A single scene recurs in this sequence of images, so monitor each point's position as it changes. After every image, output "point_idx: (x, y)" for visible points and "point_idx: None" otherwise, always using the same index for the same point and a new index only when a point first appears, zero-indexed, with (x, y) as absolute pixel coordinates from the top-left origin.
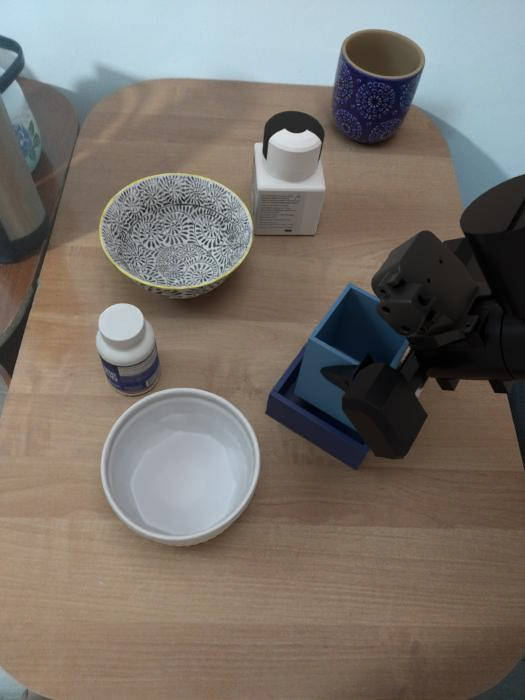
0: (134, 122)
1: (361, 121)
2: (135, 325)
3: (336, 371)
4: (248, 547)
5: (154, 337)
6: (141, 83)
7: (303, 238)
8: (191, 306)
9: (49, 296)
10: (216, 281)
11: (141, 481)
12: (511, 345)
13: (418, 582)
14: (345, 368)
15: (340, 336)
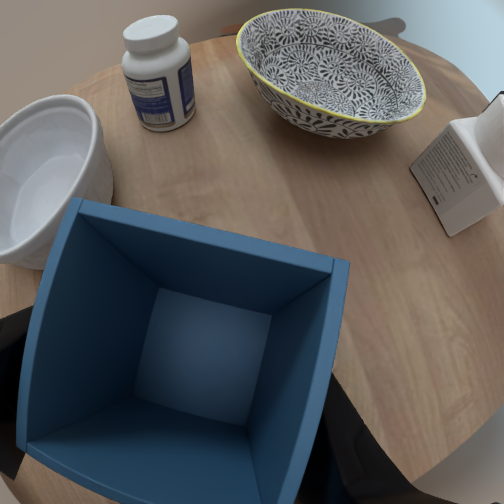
0: (428, 63)
1: None
2: (146, 34)
3: (25, 312)
4: (17, 291)
5: (161, 70)
6: (456, 68)
7: (437, 225)
8: (277, 128)
9: (229, 41)
10: (287, 98)
11: (51, 166)
12: None
13: (46, 466)
14: (8, 330)
15: (276, 322)
